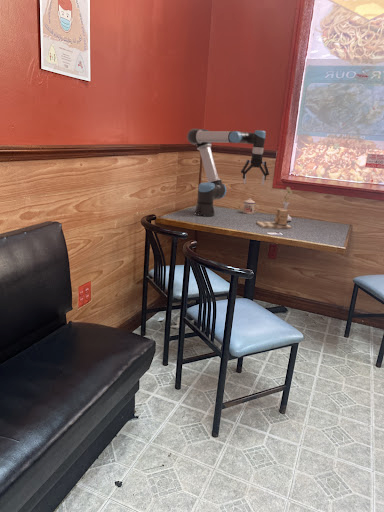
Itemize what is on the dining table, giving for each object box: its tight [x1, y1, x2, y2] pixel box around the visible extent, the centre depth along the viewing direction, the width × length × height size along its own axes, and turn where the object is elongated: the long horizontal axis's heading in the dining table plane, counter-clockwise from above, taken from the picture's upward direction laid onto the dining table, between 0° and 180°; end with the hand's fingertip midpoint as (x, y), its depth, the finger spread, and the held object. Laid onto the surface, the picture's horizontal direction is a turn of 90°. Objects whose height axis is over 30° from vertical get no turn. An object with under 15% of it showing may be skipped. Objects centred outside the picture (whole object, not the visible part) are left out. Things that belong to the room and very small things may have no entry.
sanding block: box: [274, 208, 289, 226], centre depth 273 cm, size 9×5×10 cm, turn 9°
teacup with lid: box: [242, 197, 259, 215], centre depth 315 cm, size 12×9×12 cm
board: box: [255, 221, 292, 230], centre depth 274 cm, size 20×14×2 cm
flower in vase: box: [282, 186, 293, 222], centre depth 293 cm, size 13×11×25 cm
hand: (253, 184), depth 283 cm, fingers open, 13 cm apart
